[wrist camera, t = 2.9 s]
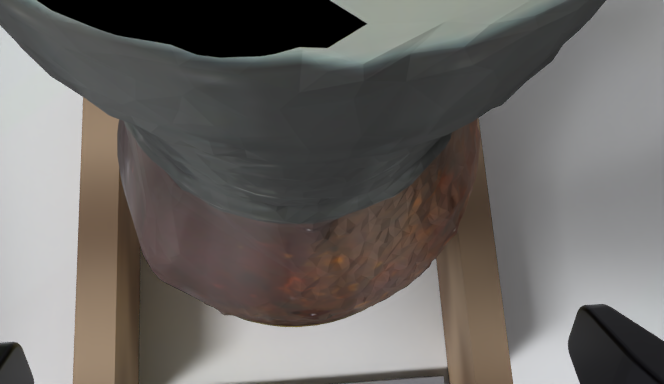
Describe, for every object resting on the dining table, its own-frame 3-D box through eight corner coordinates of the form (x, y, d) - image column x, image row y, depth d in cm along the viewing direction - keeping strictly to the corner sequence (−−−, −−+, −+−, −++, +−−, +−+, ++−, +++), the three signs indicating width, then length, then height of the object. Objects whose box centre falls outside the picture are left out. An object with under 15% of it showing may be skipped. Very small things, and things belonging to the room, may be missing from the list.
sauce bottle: (287, 127, 23) (321, -1014, 3) (408, 231, 22) (1262, -437, 3) (167, 250, 21) (-973, -558, 2) (293, 366, 21) (481, 870, 1)
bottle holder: (481, 381, 21) (513, 389, 18) (102, 410, 20) (71, 424, 17) (444, 72, 24) (467, 36, 21) (110, 79, 22) (85, 42, 20)
